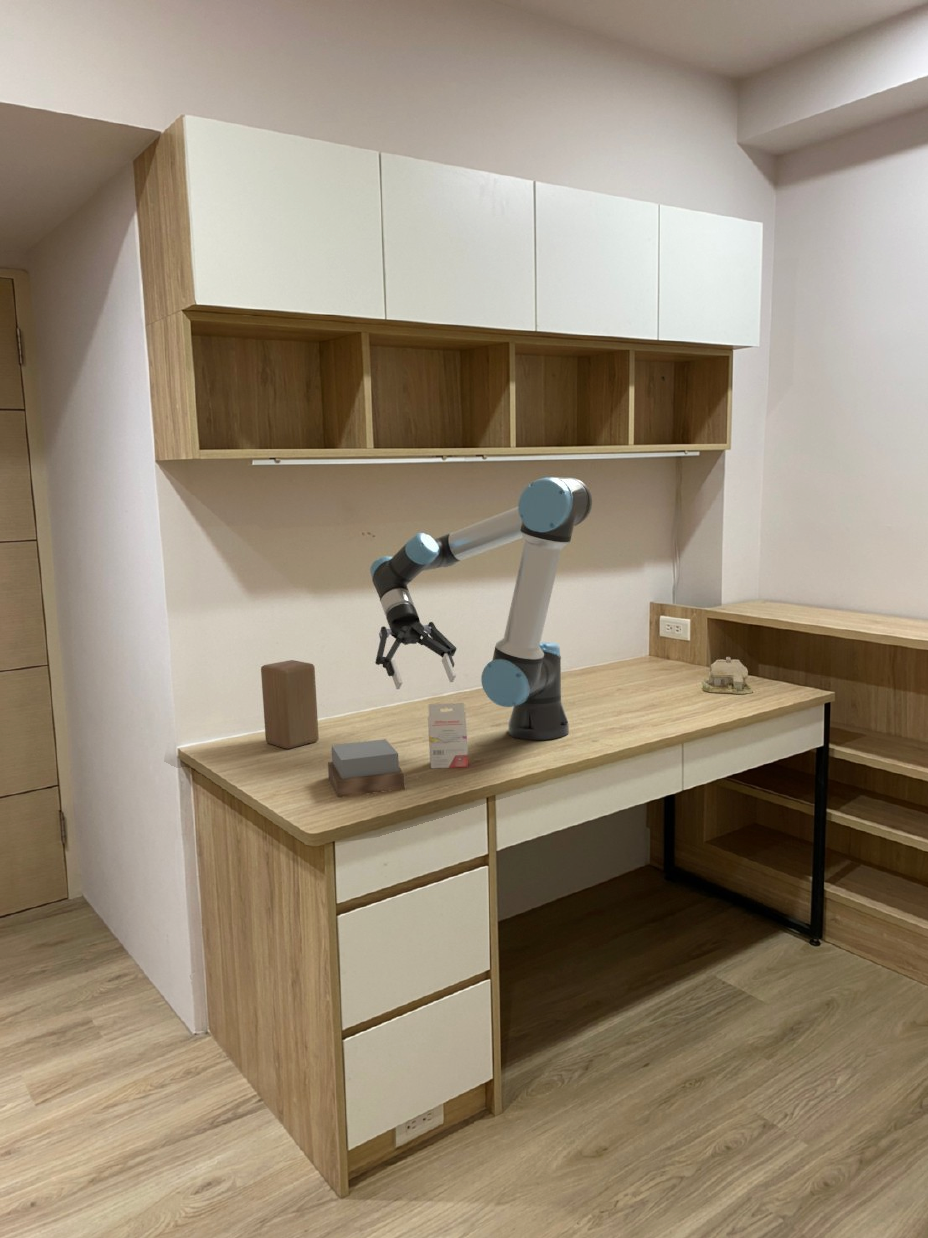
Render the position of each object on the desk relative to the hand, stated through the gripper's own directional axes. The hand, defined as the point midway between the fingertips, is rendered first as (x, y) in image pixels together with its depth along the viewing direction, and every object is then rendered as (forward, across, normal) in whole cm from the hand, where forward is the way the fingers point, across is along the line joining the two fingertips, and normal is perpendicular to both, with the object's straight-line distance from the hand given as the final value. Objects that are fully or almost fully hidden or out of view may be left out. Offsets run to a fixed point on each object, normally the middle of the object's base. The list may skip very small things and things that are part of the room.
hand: (426, 682), depth 218 cm
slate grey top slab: (+19, +21, 0) cm, 28 cm away
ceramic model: (+3, -101, -21) cm, 103 cm away
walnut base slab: (+22, +21, -3) cm, 30 cm away
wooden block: (-7, +26, -32) cm, 41 cm away
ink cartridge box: (+20, 0, -4) cm, 20 cm away
